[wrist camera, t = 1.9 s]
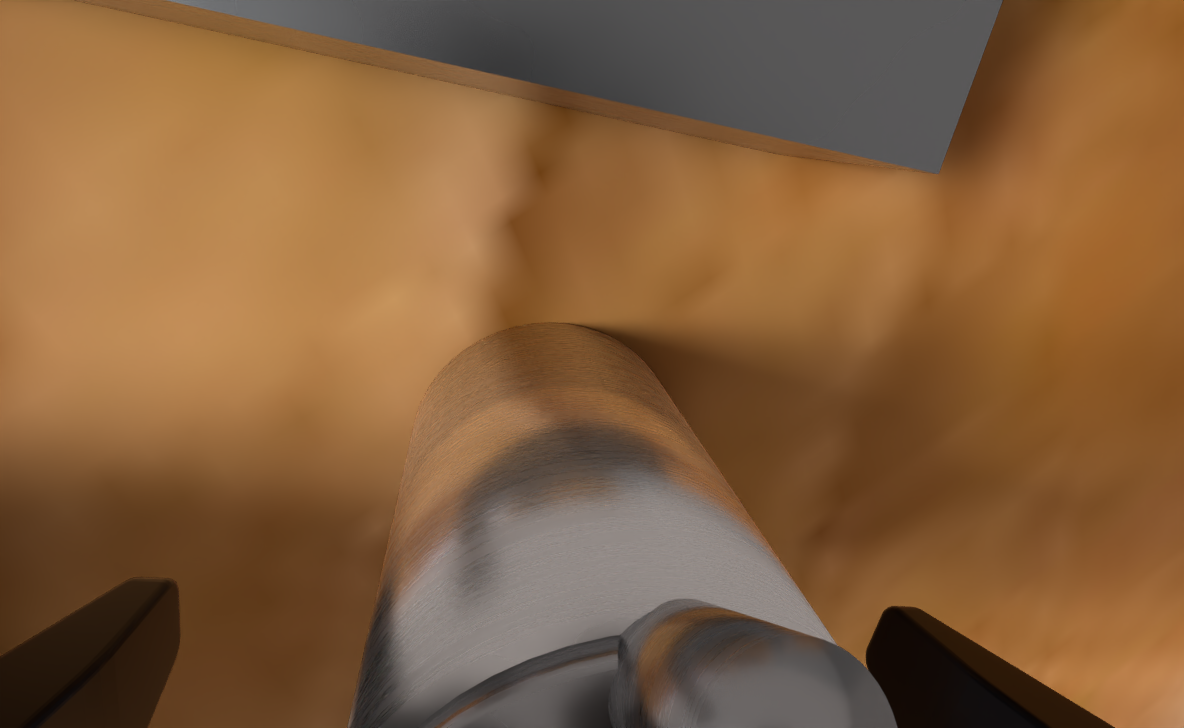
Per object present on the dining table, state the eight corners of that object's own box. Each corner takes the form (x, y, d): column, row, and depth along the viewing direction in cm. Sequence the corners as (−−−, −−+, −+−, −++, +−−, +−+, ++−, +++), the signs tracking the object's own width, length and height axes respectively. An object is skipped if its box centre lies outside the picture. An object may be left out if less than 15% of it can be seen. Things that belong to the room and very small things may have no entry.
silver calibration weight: (400, 546, 12) (239, 1395, 4) (431, 253, 10) (241, 773, 2) (640, 559, 13) (889, 1247, 5) (711, 296, 11) (1287, 746, 3)
